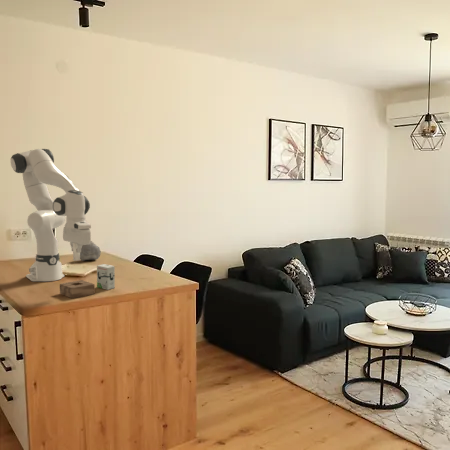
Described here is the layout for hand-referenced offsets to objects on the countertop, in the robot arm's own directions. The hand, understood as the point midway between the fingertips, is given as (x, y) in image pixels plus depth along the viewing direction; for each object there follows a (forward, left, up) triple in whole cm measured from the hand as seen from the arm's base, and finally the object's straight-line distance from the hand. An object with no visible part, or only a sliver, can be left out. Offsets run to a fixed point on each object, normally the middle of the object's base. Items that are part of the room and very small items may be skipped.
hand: (76, 251), depth 226 cm
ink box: (-1, +17, -21) cm, 27 cm away
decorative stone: (-72, +50, -21) cm, 90 cm away
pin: (0, 0, -4) cm, 4 cm away
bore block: (0, 0, -21) cm, 21 cm away
